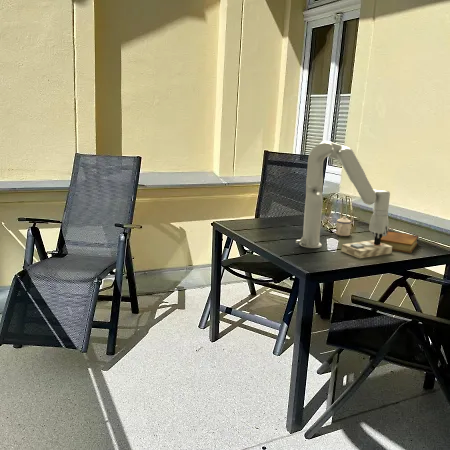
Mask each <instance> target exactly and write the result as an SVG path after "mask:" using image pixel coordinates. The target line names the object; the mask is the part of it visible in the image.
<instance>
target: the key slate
mask: <svg viewBox="0 0 450 450" xmlns="http://www.w3.org/2000/svg"><path fill="white" fill-rule="evenodd" d="M351 247H353V248H356V249H359V248H364V246H363V245H360V244H358V243H357V244H351Z"/></svg>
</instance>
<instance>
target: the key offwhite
mask: <svg viewBox="0 0 450 450" xmlns="http://www.w3.org/2000/svg"><path fill="white" fill-rule="evenodd" d="M361 245H363V246H365V247H373V246H374V244H372V243H369V242H364V243H361Z"/></svg>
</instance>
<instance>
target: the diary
mask: <svg viewBox="0 0 450 450" xmlns="http://www.w3.org/2000/svg"><path fill="white" fill-rule="evenodd" d="M386 234H387V236H383V237H382V238H381V243H384V244H387V245H390V246H392V251H395V252H396V251H397V252H403V253H408V254H411V253H412V252H413V251H414V249H416V247H417V245H418V243H417V242H418V241H417V240H418V239H419V235H415V234H407V233H403V232H402V233H401V232H395V231H389V230H388V232H387V233H386Z"/></svg>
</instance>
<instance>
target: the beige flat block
mask: <svg viewBox="0 0 450 450" xmlns="http://www.w3.org/2000/svg"><path fill="white" fill-rule="evenodd" d="M374 240H375V239H371V240H365V241H358V242H357V241H356V242H350V243H342V244H341V249H340V251H341V252H342V253H344V254H348V255H350V256H352V257H355V258H357V259H365V258H371V257H377V256H384V255H390V254H392V252H393V250H392V246H390V245H387V244H384V243H381V242H380V244H382V245H380V246H376V245H374V246H373V247H365V246H364V248H359V249H356V248H353V247H351V244H357V243H358V244H360V245H361V243H364V242H369V243H374Z"/></svg>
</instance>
